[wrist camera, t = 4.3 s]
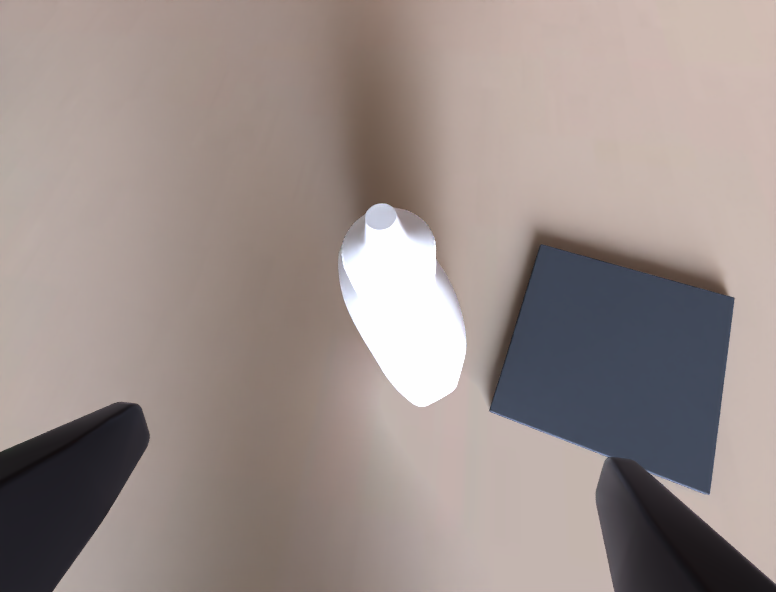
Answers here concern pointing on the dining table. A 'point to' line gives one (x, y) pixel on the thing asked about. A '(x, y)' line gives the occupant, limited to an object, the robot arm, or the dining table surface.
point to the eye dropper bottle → (403, 302)
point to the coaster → (619, 364)
